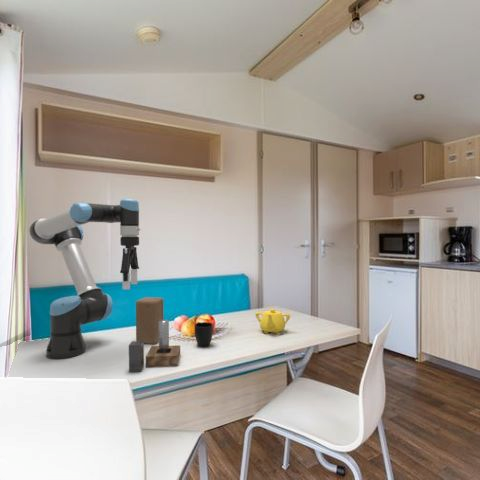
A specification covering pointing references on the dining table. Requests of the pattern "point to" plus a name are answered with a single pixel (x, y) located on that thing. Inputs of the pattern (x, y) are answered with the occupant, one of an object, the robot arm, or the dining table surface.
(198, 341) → the mug
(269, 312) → the teapot
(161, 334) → the bar
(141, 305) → the wooden block
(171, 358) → the bore block
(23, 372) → the dining table surface
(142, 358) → the square bit
